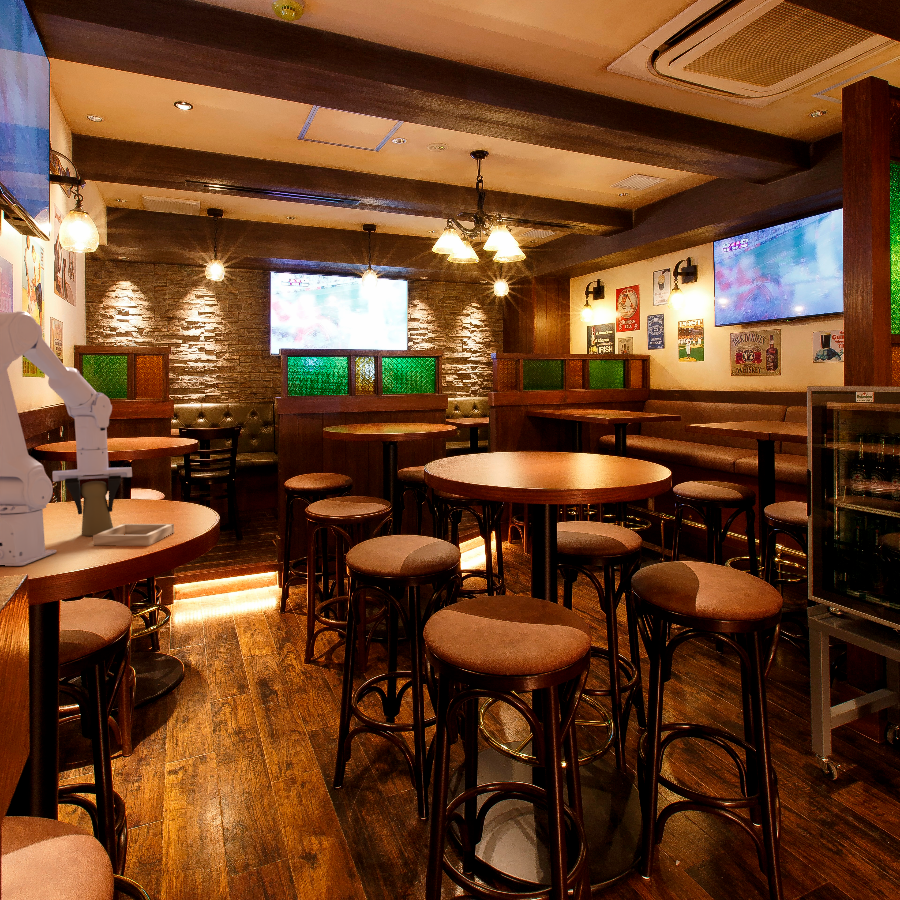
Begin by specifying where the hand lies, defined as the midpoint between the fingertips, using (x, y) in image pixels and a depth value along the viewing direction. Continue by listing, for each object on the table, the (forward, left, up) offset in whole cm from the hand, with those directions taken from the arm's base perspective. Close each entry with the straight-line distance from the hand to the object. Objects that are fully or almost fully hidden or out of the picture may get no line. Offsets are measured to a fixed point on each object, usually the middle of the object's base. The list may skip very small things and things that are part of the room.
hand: (95, 512), depth 132 cm
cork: (0, 0, -5) cm, 5 cm away
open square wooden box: (-5, -11, -5) cm, 13 cm away
